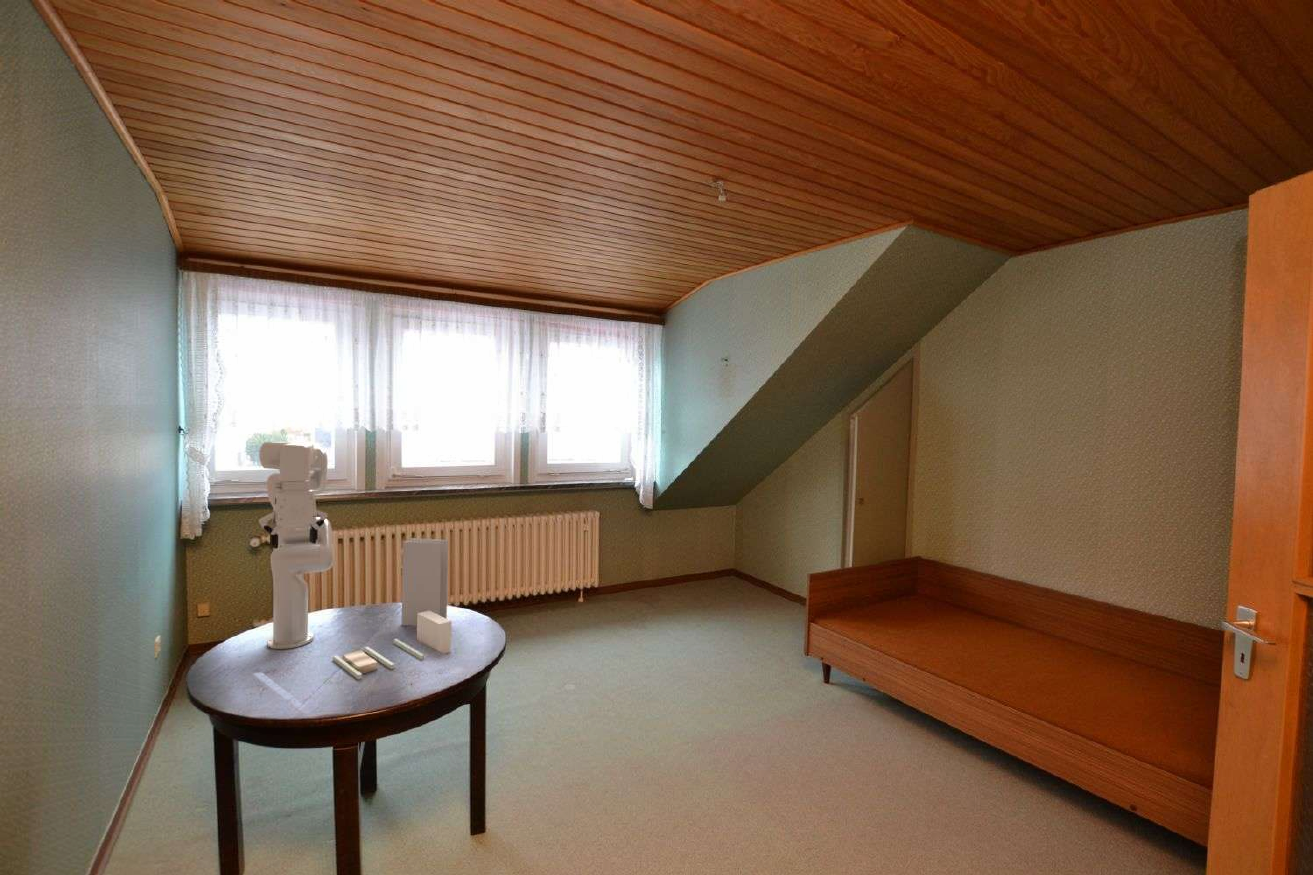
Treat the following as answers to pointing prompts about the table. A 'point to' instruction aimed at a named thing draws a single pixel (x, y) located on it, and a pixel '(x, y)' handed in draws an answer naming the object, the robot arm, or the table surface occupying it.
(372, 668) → the offcut upper
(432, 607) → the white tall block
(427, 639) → the cream rectangular block
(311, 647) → the table surface
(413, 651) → the rack
